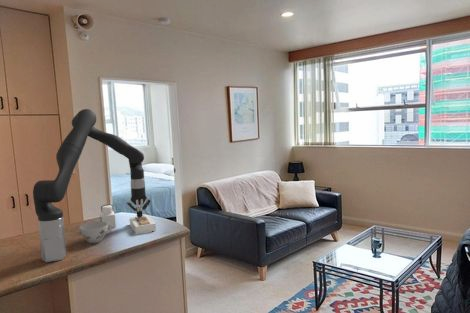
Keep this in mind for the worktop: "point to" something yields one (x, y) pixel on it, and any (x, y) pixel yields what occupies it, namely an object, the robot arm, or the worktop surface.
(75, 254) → the worktop surface
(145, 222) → the tile one
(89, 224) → the teacup
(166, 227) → the worktop surface
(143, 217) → the tile two
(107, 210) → the medicine bottle
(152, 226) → the key panel
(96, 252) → the worktop surface
